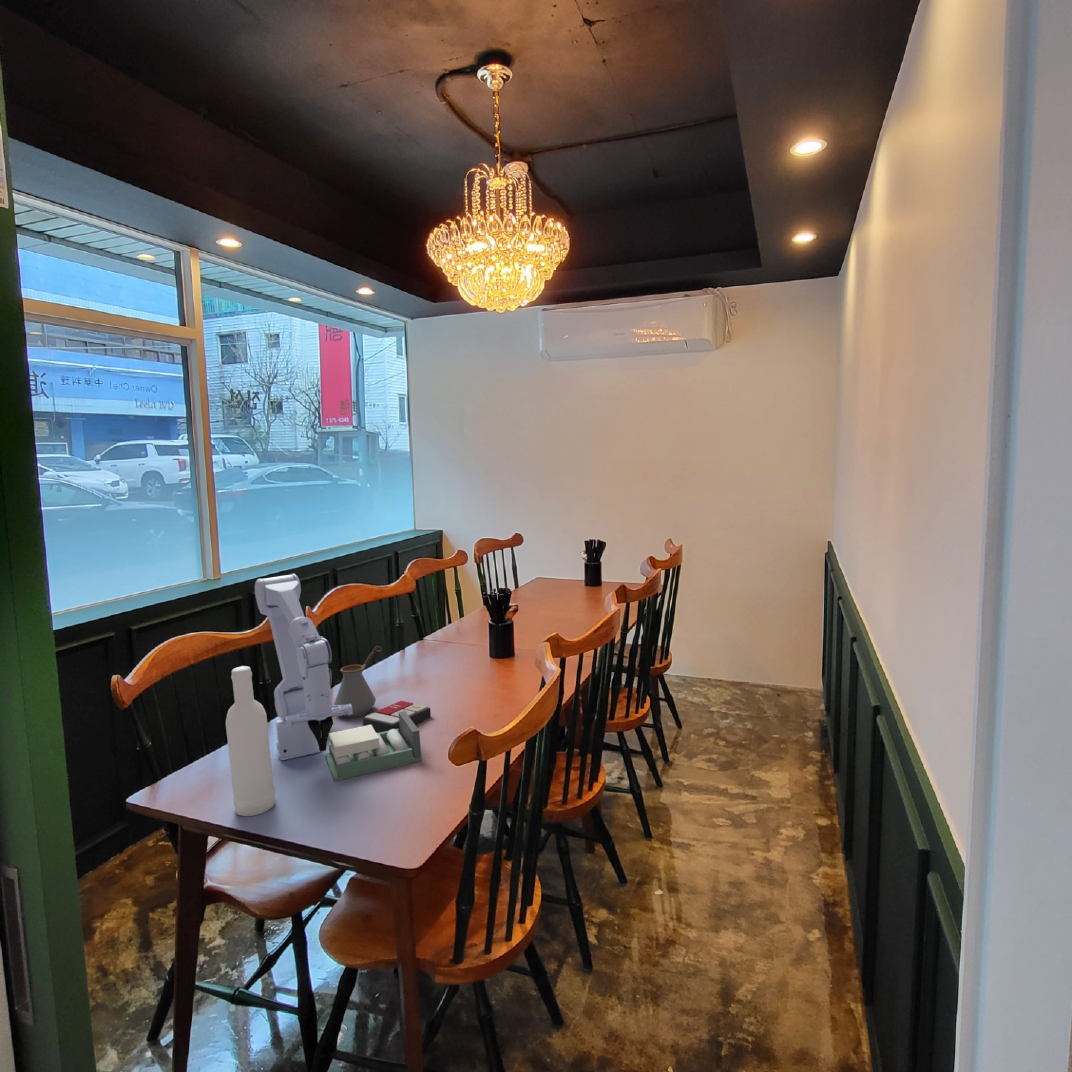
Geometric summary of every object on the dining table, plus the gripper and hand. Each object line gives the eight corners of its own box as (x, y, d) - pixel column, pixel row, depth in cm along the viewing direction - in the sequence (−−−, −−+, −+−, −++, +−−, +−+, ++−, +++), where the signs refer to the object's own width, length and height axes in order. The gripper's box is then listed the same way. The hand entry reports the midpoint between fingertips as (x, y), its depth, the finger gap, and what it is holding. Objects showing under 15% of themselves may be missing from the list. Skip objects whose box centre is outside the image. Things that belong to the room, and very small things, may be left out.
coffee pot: (363, 721, 185) (359, 668, 183) (326, 718, 188) (322, 666, 186) (399, 693, 205) (395, 645, 203) (365, 691, 208) (361, 644, 206)
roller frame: (334, 781, 151) (331, 749, 150) (325, 756, 163) (322, 727, 162) (421, 760, 159) (419, 730, 158) (406, 738, 172) (404, 710, 171)
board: (335, 757, 153) (334, 747, 152) (329, 742, 161) (328, 733, 161) (379, 747, 157) (378, 737, 157) (371, 733, 165) (371, 724, 165)
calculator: (431, 705, 185) (392, 722, 172) (431, 720, 185) (393, 738, 173) (401, 698, 191) (361, 715, 178) (401, 713, 191) (362, 731, 178)
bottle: (263, 793, 147) (250, 660, 143) (283, 804, 142) (269, 666, 138) (227, 809, 141) (212, 670, 137) (246, 821, 136) (231, 677, 132)
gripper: (285, 704, 148) (291, 763, 149) (352, 692, 153) (357, 748, 155) (282, 694, 154) (288, 751, 156) (347, 683, 160) (352, 737, 162)
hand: (322, 749), depth 156 cm, fingers closed
